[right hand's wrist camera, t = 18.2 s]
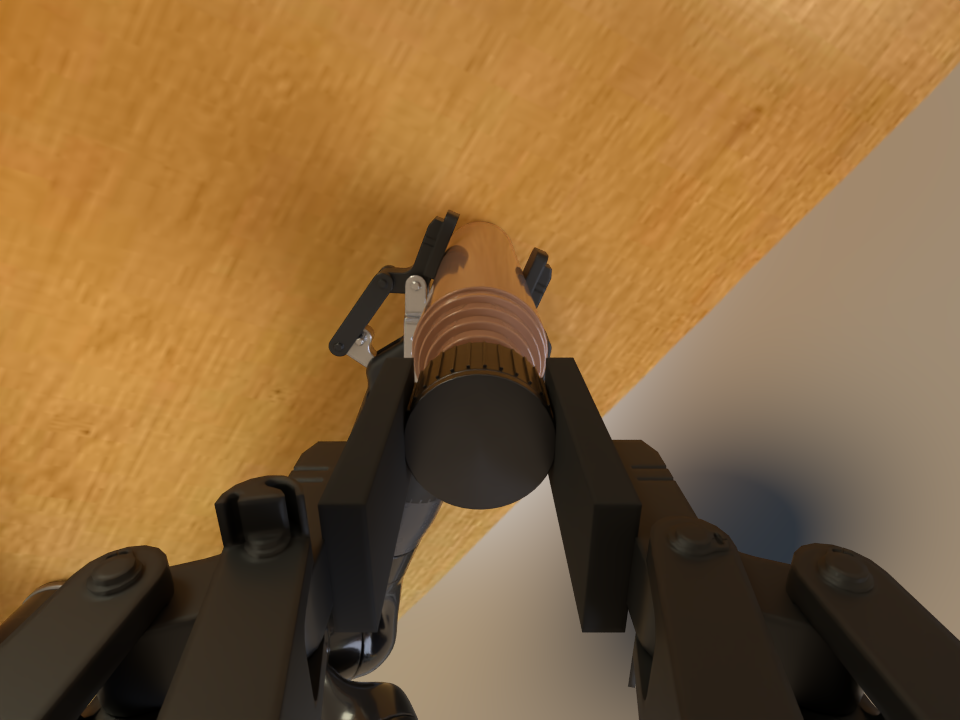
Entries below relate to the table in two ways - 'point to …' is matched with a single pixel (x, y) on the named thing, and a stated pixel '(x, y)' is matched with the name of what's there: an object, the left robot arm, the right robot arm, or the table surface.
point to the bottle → (479, 300)
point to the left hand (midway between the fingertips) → (497, 233)
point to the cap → (479, 427)
